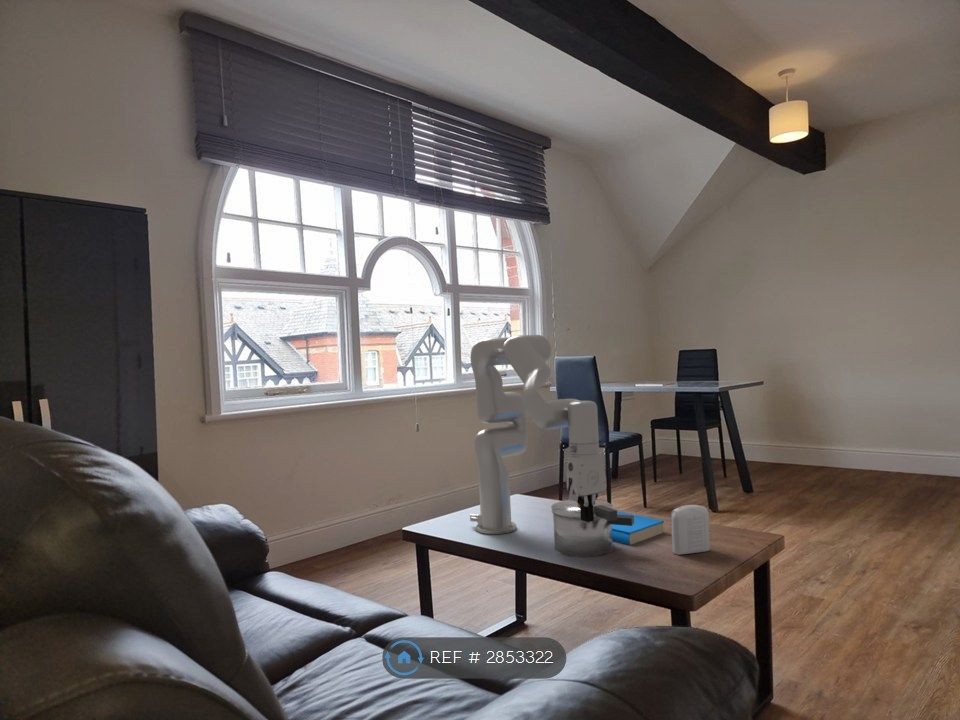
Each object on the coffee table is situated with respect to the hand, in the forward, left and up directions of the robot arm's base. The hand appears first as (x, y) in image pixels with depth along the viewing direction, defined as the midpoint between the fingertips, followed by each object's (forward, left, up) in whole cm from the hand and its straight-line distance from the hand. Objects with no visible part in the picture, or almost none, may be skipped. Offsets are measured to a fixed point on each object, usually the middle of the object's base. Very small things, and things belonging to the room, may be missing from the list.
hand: (587, 520), depth 163 cm
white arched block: (+23, +18, -11) cm, 31 cm away
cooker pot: (-2, +13, -11) cm, 17 cm away
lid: (-3, +11, -1) cm, 11 cm away
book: (-2, +31, -12) cm, 34 cm away
